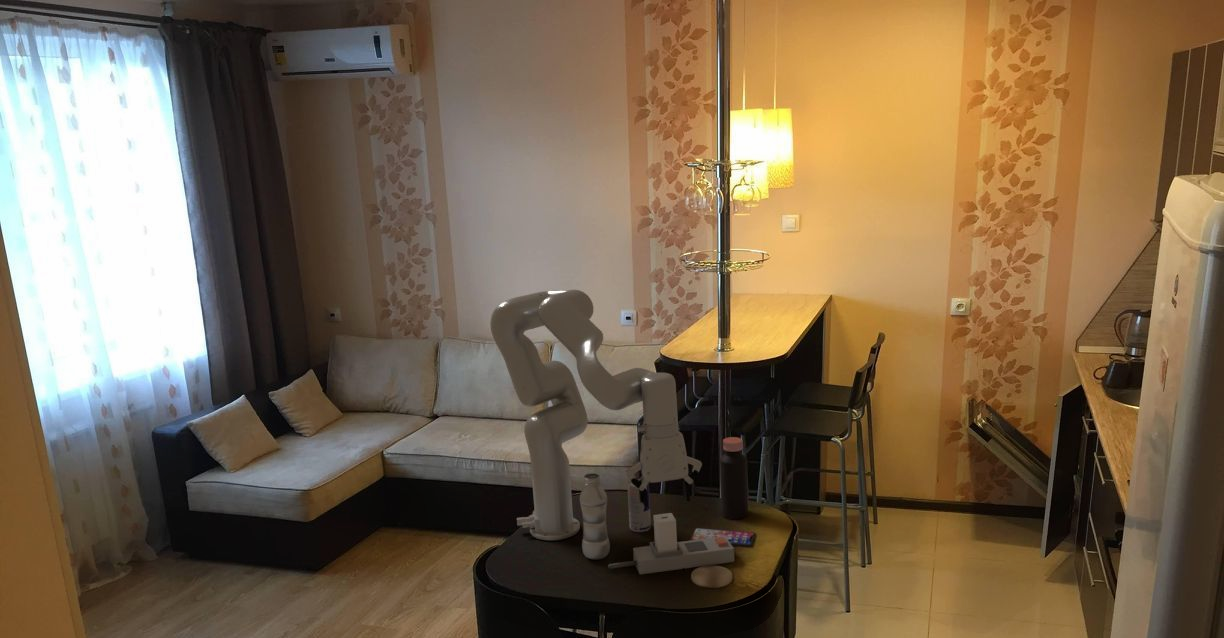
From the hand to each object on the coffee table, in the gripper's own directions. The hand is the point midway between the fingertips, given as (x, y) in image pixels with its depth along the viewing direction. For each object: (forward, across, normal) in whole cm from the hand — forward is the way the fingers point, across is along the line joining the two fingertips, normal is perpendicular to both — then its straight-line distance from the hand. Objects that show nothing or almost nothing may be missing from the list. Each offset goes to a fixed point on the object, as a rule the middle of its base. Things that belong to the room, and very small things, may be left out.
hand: (666, 502), depth 188 cm
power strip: (+15, 0, +1) cm, 15 cm away
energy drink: (+15, -3, +20) cm, 25 cm away
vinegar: (+15, +22, +22) cm, 35 cm away
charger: (+12, -1, +1) cm, 12 cm away
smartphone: (+16, +15, +10) cm, 24 cm away
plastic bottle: (+15, -16, +8) cm, 23 cm away
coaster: (+15, +7, -8) cm, 19 cm away
